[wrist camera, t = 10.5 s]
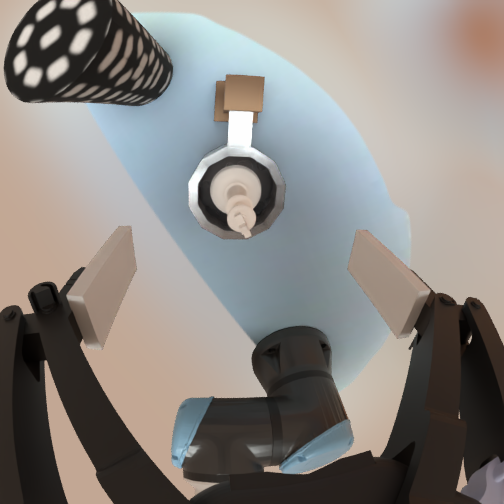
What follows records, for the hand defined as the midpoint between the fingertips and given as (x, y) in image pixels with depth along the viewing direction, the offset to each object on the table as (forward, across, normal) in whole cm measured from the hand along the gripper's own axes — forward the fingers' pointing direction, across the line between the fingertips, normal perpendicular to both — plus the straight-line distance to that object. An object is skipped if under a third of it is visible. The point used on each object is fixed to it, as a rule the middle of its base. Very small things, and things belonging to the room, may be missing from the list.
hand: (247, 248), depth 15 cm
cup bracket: (+13, 0, +3) cm, 14 cm away
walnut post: (+20, 0, +10) cm, 22 cm away
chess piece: (+12, 0, 0) cm, 12 cm away
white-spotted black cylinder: (+20, -12, +14) cm, 27 cm away
